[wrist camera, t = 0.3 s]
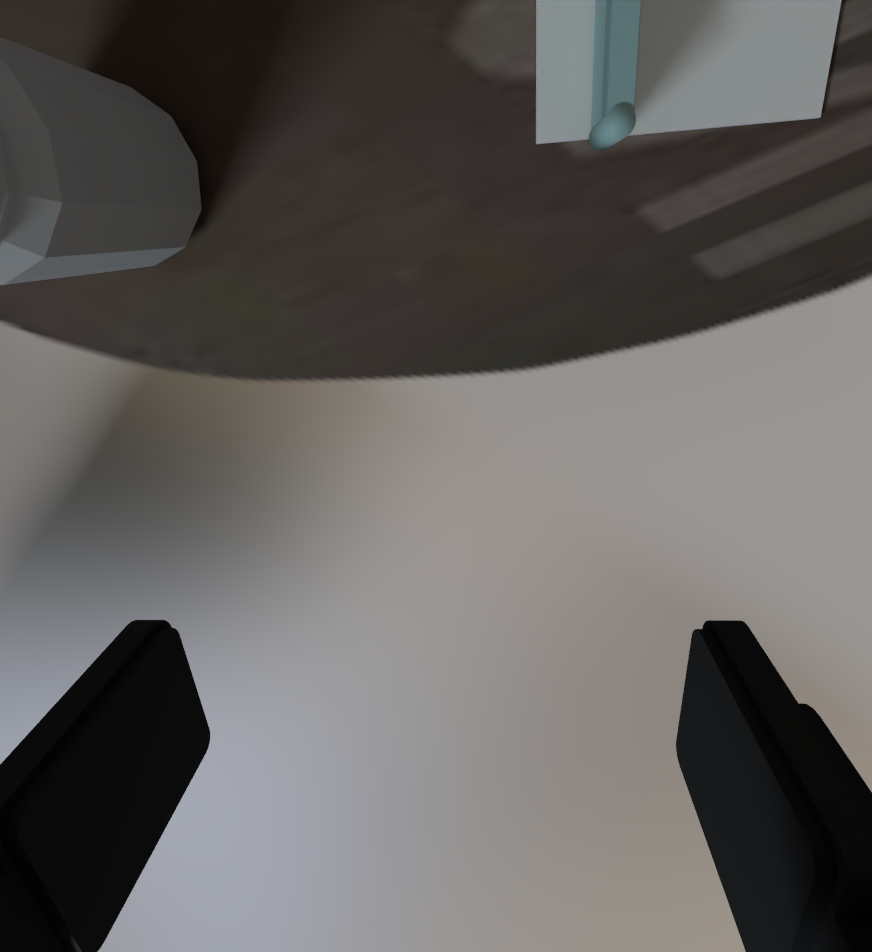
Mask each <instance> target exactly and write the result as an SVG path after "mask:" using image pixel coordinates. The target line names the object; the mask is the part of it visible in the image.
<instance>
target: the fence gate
mask: <svg viewBox="0 0 872 952" xmlns="http://www.w3.org/2000/svg"><path fill="white" fill-rule="evenodd" d="M640 15H641V0H596V2H595V29H594V57H593V84H592V111H591V130H590V133H589V143H590V145H591V147H592V148H593V149H594V150H597V151H604V150H606V149H608V148H609V147H611V146H612V145H614V144H616V143H617V142H619V141H620V140H622V139H624V138H625V137H627V136H628V135H629V134H630V133H631V132H632V131H633V129H634V127H635V124H636V115H635V112H634V110H635V94H636V78H637V62H638V47H639V31H640Z"/></svg>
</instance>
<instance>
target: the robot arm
mask: <svg viewBox="0 0 872 952" xmlns="http://www.w3.org/2000/svg"><path fill="white" fill-rule="evenodd" d="M209 741H210V730H209V727H208V723H207V720H206V717H205V714H204V711H203V708H202V705H201V701H200V698H199V695H198V692H197V689H196V685H195V682H194V679H193V676H192V673H191V670H190V667H189V663H188V660H187V657H186V654H185V651H184V648H183V645H182V641H181V638H180V635H179V633H178V631H177V630H176V629H174V628H172V627H171V625H170V624H169V623H168V622H167V621H165V620H135V621H132V622H131V623H129V624H128V625H127V626H126V627H125V628H124V630H122V632H121V633H120V634H119V635H118V636H117V637H116V638H115V639H114V641H112V643H111V644H110V645H109V646H108V647H107V648H106V649H105V650H104V651H103V652H102V654H101V655H100V656H99V657H98V658H97V659H96V660H95V661H94V662H93V663H92V664H91V666H90V667H89V668H88V669H87V670H86V671H85V672H84V673H83V675H82V676H81V677H80V678H79V679H78V680H77V681H76V682H75V683H74V684H73V685H72V687H71V688H70V689H69V690H68V691H67V692H66V693H65V694H64V695H63V696H62V698H61V699H60V700H59V701H58V702H57V703H56V704H55V705H54V706H53V707H52V708H51V710H50V711H49V712H48V713H47V714H46V715H45V716H44V717H43V719H41V721H40V722H39V723H38V724H37V725H36V726H35V727H34V728H33V729H32V730H31V732H30V733H29V734H28V735H27V736H26V737H25V738H24V739H23V740H22V742H21V743H20V744H19V745H18V746H17V747H16V748H15V749H14V750H13V751H12V752H11V754H10V755H9V756H8V757H7V758H6V759H5V760H4V761H3V762H2V763H1V765H0V952H97V951H98V950H99V949H100V947H101V946H102V944H103V943H104V941H105V939H106V937H107V935H108V934H109V932H110V930H111V928H112V926H113V924H114V922H115V921H116V919H117V917H118V915H119V913H120V911H121V910H122V908H123V906H124V904H125V902H126V900H127V898H128V897H129V894H130V893H131V891H132V889H133V887H134V885H135V884H136V882H137V880H138V878H139V876H140V874H141V872H142V870H143V869H144V867H145V865H146V863H147V861H148V859H149V858H150V856H151V854H152V852H153V850H154V848H155V846H156V845H157V843H158V841H159V839H160V837H161V835H162V833H163V832H164V830H165V828H166V826H167V824H168V822H169V820H170V819H171V817H172V815H173V813H174V811H175V809H176V807H177V805H178V804H179V802H180V800H181V798H182V796H183V794H184V793H185V791H186V788H187V787H188V785H189V783H190V781H191V779H192V778H193V776H194V774H195V772H196V770H197V768H198V767H199V765H200V763H201V761H202V759H203V757H204V755H205V754H206V751H207V749H208V746H209ZM676 749H677V757H678V761H679V764H680V768H681V771H682V773H683V776H684V779H685V782H686V785H687V787H688V790H689V793H690V796H691V799H692V801H693V804H694V807H695V810H696V812H697V815H698V818H699V821H700V824H701V827H702V830H703V832H704V835H705V838H706V841H707V844H708V846H709V849H710V852H711V855H712V858H713V860H714V863H715V866H716V869H717V872H718V875H719V877H720V880H721V883H722V886H723V889H724V891H725V894H726V897H727V900H728V903H729V905H730V908H731V911H732V914H733V917H734V919H735V922H736V925H737V928H738V931H739V934H740V936H741V939H742V942H743V945H744V947H745V950H746V952H872V792H871V791H870V789H869V788H868V786H867V785H866V784H865V782H864V781H863V779H862V778H861V776H860V775H859V773H858V772H857V770H856V769H855V767H854V766H853V764H852V763H851V761H850V760H849V759H848V757H847V755H846V754H845V753H844V751H843V750H842V748H841V747H840V745H839V744H838V742H837V741H836V739H835V738H834V737H833V735H832V733H831V732H830V730H829V729H828V727H827V726H826V725H825V723H824V722H823V720H822V719H821V717H820V716H819V715H818V714H817V713H816V711H815V710H814V709H813V708H812V707H810V706H809V705H807V704H798V702H797V701H796V700H795V698H794V696H793V695H792V693H791V692H790V690H789V688H788V687H787V686H786V684H785V682H784V681H783V679H782V678H781V676H780V675H779V673H778V672H777V670H776V669H775V667H774V665H773V664H772V663H771V661H770V659H769V658H768V656H767V655H766V653H765V652H764V650H763V649H762V647H761V646H760V644H759V642H758V641H757V639H756V638H755V636H754V635H753V633H752V632H751V630H750V629H749V627H748V626H747V625H746V624H745V622H743V621H706V622H705V623H704V625H703V629H696V630H694V631H693V633H692V639H691V645H690V652H689V659H688V665H687V673H686V679H685V686H684V693H683V699H682V706H681V713H680V720H679V726H678V734H677V740H676Z"/></svg>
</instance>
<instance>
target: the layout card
mask: <svg viewBox="0 0 872 952" xmlns="http://www.w3.org/2000/svg"><path fill="white" fill-rule="evenodd" d="M841 1H842V0H641V15H640V31H639V47H638V62H637V78H636V94H635V110H634V112H635V115H636V124H635V127H634V129H633V131H632V132H631V133H630V134H629V135H628V136H630V135H641V134H652V133H663V132H674V131H685V130H695V129H706V128H717V127H728V126H739V125H749V124H760V123H771V122H782V121H793V120H804V119H814V118H820V117H821V112H822V106H823V101H824V95H825V90H826V84H827V79H828V73H829V67H830V62H831V56H832V51H833V45H834V40H835V34H836V29H837V23H838V17H839V12H840V6H841ZM595 2H596V0H536V144H544V143H555V142H565V141H576V140H587V139H589V133H590V130H591V111H592V84H593V57H594V29H595Z"/></svg>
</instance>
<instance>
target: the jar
mask: <svg viewBox="0 0 872 952" xmlns="http://www.w3.org/2000/svg"><path fill="white" fill-rule="evenodd" d="M201 210H202V208H201V197H200V187H199V177H198V167H197V161H196V159H195V157H194V155H193V154H192V152H191V150H190V148H189V147H188V145H187V143H186V141H185V140H184V138H183V136H182V134H181V133H180V131H179V129H178V127H177V125H176V124H175V122H174V120H173V118H172V117H171V116H170V115H169V114H168V113H166V112H165V111H163V110H162V109H161V108H159V107H158V106H156V105H155V104H154V103H152V102H151V101H149V100H148V99H147V98H145V97H144V96H142V95H141V94H140V93H138V92H137V91H135V90H134V89H133V88H131V87H129V86H127V85H124V84H121V83H119V82H116V81H114V80H111V79H108V78H106V77H103V76H100V75H98V74H95V73H93V72H90V71H87V70H85V69H82V68H79V67H77V66H74V65H72V64H69V63H66V62H64V61H61V60H59V59H56V58H53V57H51V56H48V55H45V54H43V53H40V52H38V51H35V50H32V49H30V48H27V47H25V46H22V45H19V44H17V43H14V42H11V41H9V40H6V39H4V38H1V37H0V285H6V284H14V283H22V282H30V281H38V280H46V279H54V278H62V277H70V276H78V275H85V274H93V273H101V272H109V271H117V270H125V269H133V268H141V267H149V266H155V265H157V264H158V263H160V262H162V261H163V260H165V259H167V258H168V257H170V256H172V255H173V254H175V253H177V252H178V251H180V250H181V249H183V248H185V247H186V245H187V243H188V240H189V238H190V236H191V233H192V231H193V229H194V226H195V224H196V222H197V219H198V217H199V215H200V212H201Z"/></svg>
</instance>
